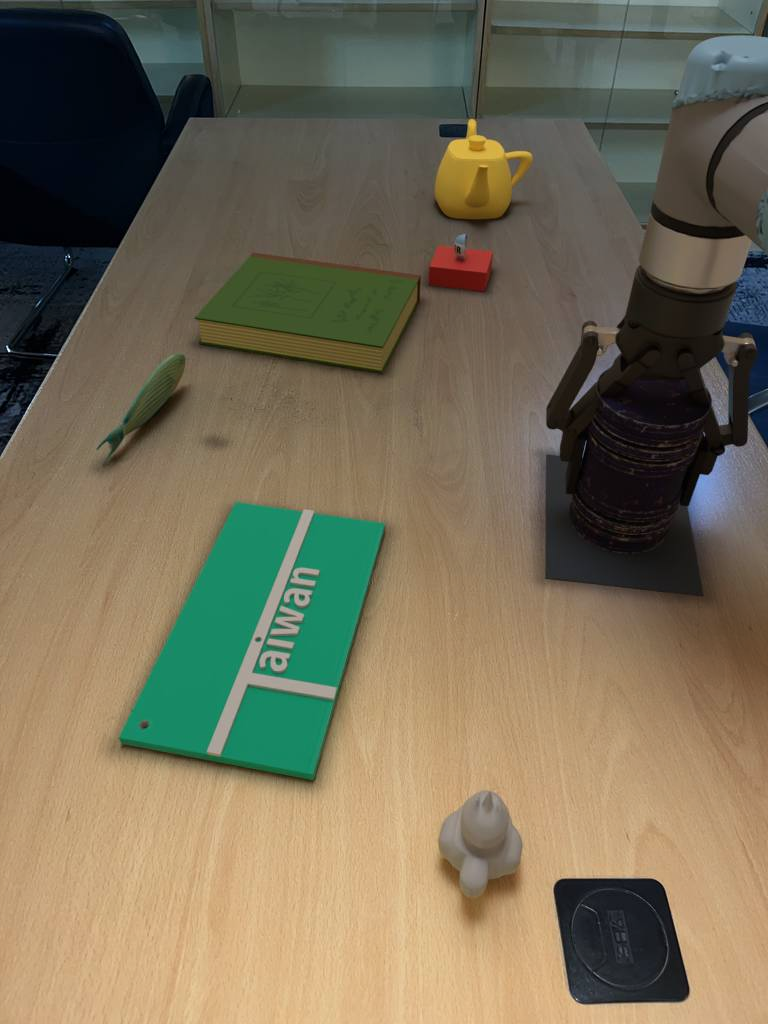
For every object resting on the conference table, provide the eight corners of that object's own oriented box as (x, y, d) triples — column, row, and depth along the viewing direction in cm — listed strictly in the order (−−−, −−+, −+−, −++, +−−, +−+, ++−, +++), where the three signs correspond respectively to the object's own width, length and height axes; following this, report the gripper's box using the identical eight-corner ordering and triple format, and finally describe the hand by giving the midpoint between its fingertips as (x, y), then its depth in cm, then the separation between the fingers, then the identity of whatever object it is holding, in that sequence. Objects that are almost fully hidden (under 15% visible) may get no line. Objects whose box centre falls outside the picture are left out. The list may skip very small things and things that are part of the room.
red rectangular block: (428, 284, 114) (430, 242, 110) (437, 263, 119) (439, 221, 115) (484, 291, 113) (488, 248, 109) (491, 269, 118) (495, 227, 113)
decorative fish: (95, 433, 80) (189, 475, 80) (176, 332, 91) (258, 369, 91) (95, 474, 85) (183, 512, 85) (171, 373, 96) (249, 408, 96)
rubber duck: (523, 826, 56) (539, 767, 51) (508, 922, 52) (524, 869, 46) (447, 806, 57) (455, 747, 52) (426, 898, 53) (432, 844, 47)
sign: (312, 771, 58) (117, 735, 60) (313, 780, 59) (121, 743, 61) (385, 520, 77) (235, 499, 79) (385, 529, 78) (236, 508, 80)
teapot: (536, 233, 127) (546, 162, 119) (437, 233, 127) (441, 162, 119) (517, 180, 143) (525, 115, 136) (430, 179, 143) (433, 114, 135)
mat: (703, 596, 72) (703, 595, 72) (545, 578, 73) (545, 577, 73) (680, 468, 85) (680, 467, 85) (546, 455, 86) (546, 454, 86)
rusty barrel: (688, 545, 76) (736, 418, 66) (592, 562, 75) (626, 434, 64) (641, 479, 83) (677, 354, 73) (552, 493, 82) (576, 367, 72)
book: (419, 300, 111) (420, 275, 108) (382, 373, 98) (382, 346, 95) (250, 276, 116) (247, 251, 113) (193, 342, 103) (189, 316, 100)
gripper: (829, 260, 63) (741, 477, 78) (539, 240, 65) (508, 454, 80) (855, 307, 57) (755, 530, 73) (538, 283, 60) (505, 504, 75)
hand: (625, 490), depth 77 cm, fingers closed on rusty barrel, 10 cm apart
